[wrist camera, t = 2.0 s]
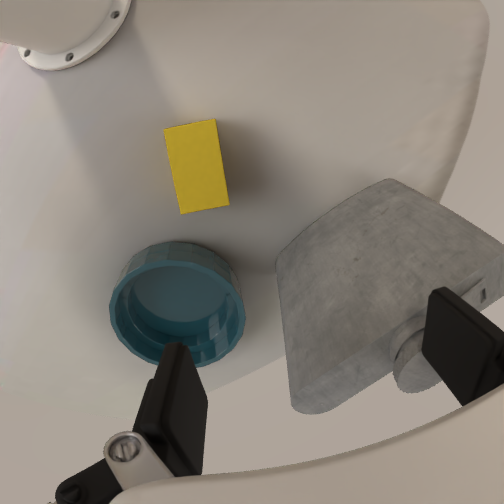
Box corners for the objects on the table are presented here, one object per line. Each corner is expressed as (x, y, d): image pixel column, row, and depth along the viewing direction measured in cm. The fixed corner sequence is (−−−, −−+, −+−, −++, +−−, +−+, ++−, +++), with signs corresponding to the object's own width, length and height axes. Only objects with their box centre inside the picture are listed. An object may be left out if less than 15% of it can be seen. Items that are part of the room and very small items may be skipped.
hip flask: (286, 281, 32) (313, 452, 14) (264, 254, 31) (272, 429, 13) (406, 197, 28) (544, 301, 10) (389, 165, 26) (543, 247, 8)
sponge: (169, 128, 24) (163, 129, 20) (214, 119, 24) (215, 118, 20) (184, 201, 27) (180, 214, 23) (226, 193, 27) (229, 205, 24)
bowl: (102, 253, 28) (89, 275, 24) (228, 227, 29) (232, 247, 25) (142, 348, 33) (138, 375, 29) (247, 331, 34) (253, 357, 30)
